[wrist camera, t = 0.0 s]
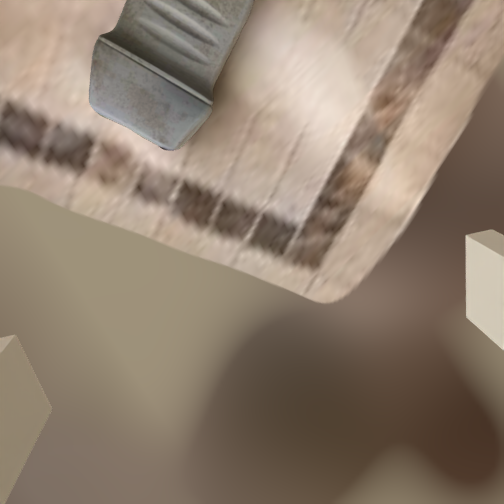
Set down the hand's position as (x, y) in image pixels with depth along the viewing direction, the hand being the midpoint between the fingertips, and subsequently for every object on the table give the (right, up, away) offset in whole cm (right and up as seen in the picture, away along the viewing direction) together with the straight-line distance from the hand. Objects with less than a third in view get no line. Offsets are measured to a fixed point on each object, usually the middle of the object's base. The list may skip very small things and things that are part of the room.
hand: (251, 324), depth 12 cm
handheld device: (-5, +21, +22) cm, 31 cm away
